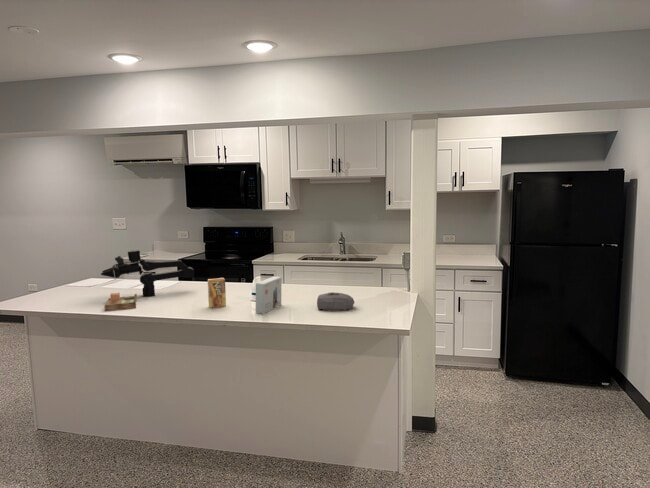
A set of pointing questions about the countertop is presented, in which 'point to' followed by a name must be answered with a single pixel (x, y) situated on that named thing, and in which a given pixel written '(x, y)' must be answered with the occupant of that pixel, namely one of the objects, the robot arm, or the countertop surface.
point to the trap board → (121, 303)
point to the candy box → (216, 292)
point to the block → (115, 296)
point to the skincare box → (268, 294)
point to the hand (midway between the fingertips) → (101, 272)
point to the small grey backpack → (335, 301)
